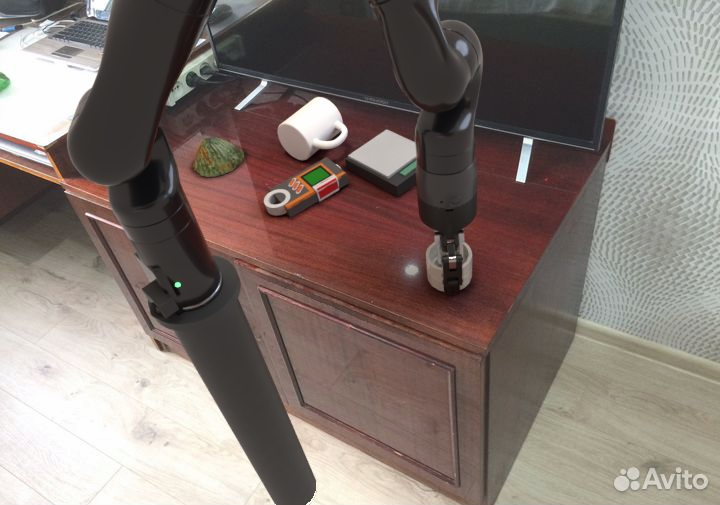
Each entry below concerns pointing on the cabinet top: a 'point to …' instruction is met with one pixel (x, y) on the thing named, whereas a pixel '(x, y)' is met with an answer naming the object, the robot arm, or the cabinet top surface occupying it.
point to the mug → (312, 129)
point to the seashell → (216, 157)
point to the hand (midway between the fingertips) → (449, 274)
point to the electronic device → (305, 188)
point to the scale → (386, 162)
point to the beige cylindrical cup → (436, 269)
